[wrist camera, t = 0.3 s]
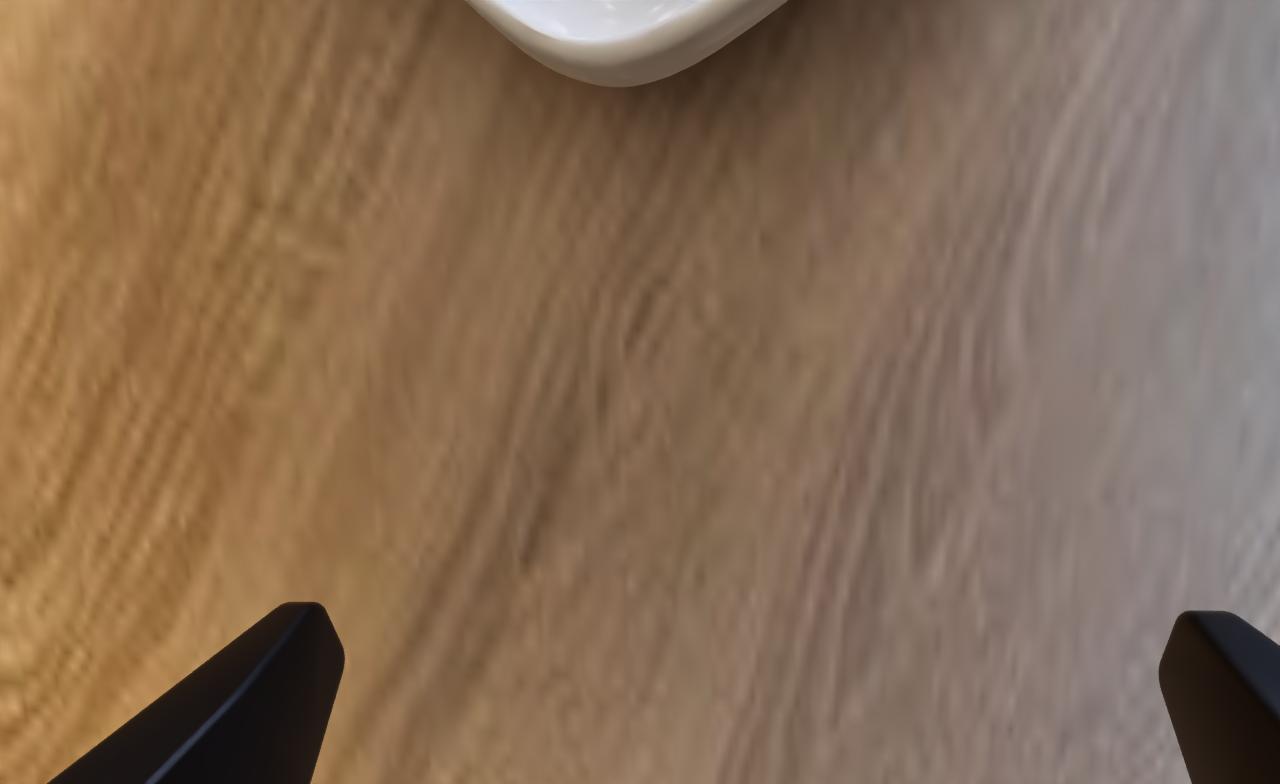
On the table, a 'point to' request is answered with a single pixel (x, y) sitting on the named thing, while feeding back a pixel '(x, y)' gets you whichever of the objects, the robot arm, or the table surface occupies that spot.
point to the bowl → (622, 34)
